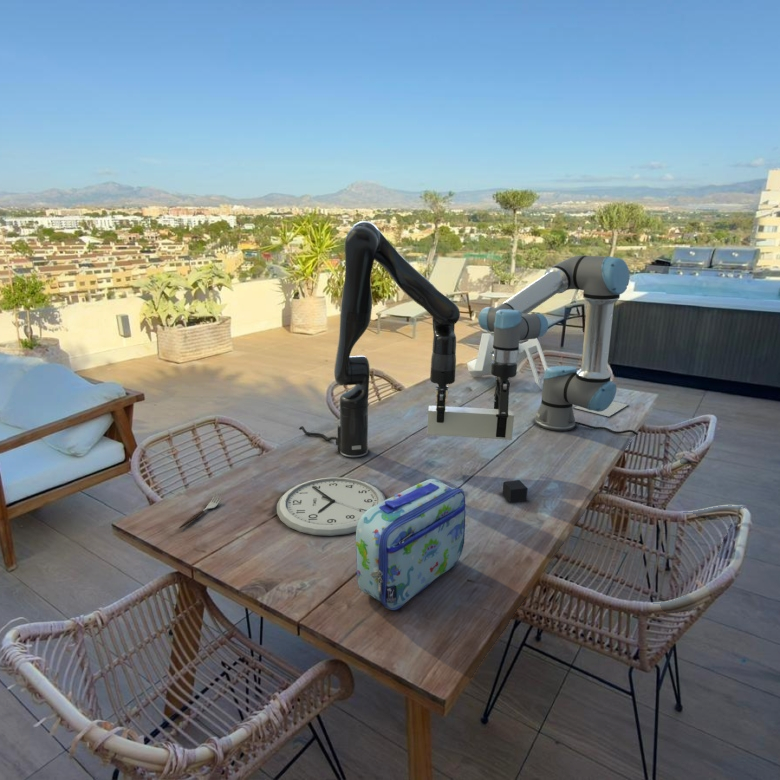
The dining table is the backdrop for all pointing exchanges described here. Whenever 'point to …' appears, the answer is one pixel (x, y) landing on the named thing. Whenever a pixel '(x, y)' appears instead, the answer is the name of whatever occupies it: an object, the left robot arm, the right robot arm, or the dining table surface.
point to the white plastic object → (484, 356)
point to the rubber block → (514, 491)
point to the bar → (468, 423)
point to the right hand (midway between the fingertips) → (498, 428)
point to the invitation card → (609, 411)
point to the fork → (209, 506)
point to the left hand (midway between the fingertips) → (440, 418)
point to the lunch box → (409, 541)
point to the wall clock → (327, 505)
